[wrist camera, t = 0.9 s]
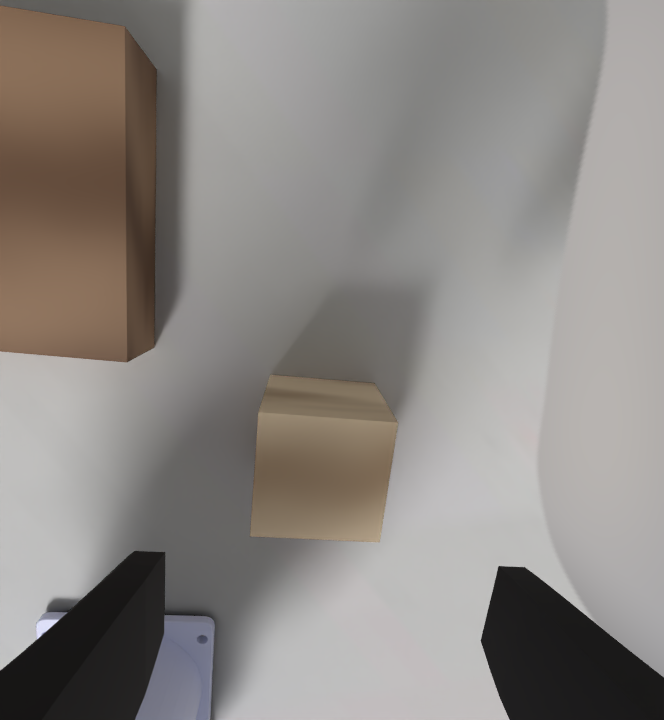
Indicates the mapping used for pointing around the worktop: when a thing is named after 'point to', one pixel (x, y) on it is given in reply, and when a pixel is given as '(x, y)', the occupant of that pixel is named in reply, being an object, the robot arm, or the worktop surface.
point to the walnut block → (76, 188)
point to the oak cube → (322, 460)
